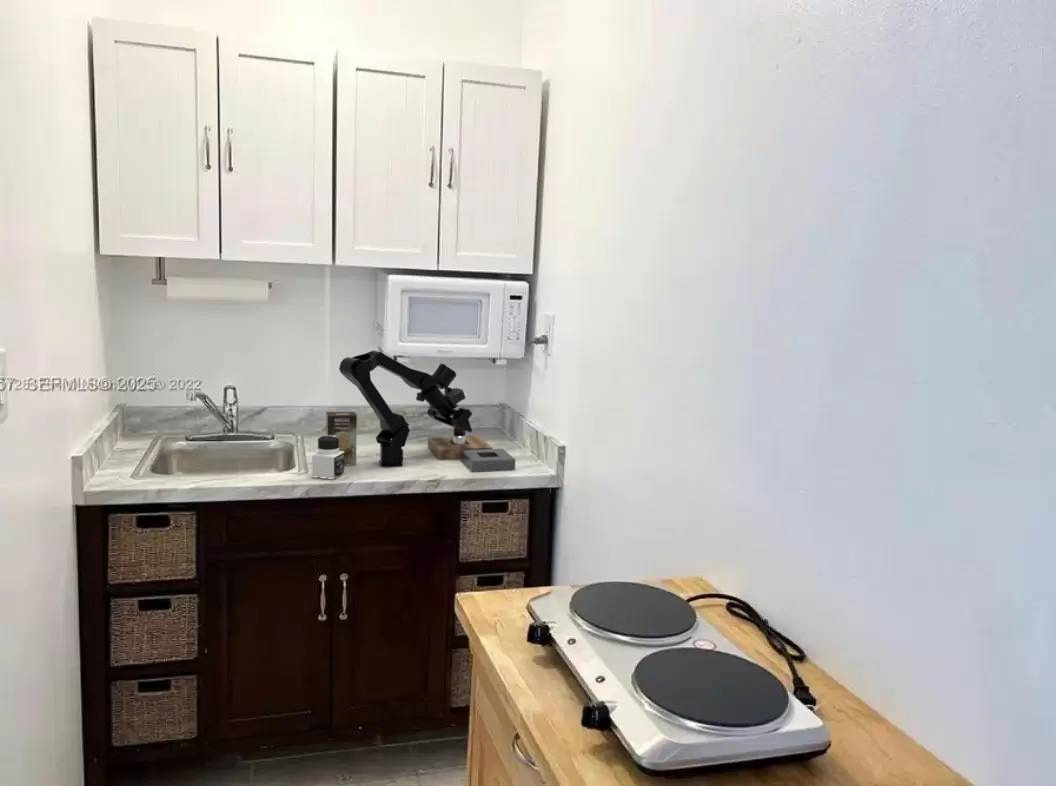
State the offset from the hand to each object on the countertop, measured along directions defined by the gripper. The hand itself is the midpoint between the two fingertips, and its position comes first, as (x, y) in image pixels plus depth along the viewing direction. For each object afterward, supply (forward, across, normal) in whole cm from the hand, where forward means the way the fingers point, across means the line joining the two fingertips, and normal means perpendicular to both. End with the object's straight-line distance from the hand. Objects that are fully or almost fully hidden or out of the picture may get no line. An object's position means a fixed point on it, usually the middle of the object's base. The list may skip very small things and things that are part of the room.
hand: (463, 428), depth 271 cm
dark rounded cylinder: (+5, 0, +7) cm, 8 cm away
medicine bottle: (-30, -3, +42) cm, 52 cm away
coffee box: (-23, +8, +35) cm, 43 cm away
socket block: (+3, -19, +8) cm, 21 cm away
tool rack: (+5, 0, +7) cm, 8 cm away
